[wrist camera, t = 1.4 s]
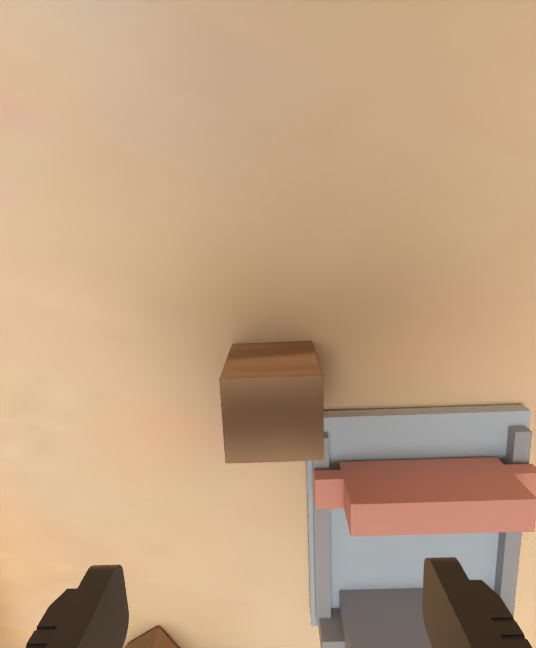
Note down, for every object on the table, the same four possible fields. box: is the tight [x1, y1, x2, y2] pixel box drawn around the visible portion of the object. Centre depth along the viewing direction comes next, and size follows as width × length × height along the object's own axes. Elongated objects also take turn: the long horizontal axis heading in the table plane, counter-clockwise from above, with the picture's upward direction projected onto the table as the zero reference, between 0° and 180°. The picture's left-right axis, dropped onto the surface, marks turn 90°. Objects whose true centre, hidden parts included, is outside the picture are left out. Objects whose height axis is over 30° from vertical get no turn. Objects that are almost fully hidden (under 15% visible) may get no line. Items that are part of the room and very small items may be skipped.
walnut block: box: [219, 341, 324, 463], centre depth 24 cm, size 4×5×6 cm
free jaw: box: [314, 457, 536, 537], centre depth 25 cm, size 2×13×4 cm, turn 92°
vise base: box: [306, 404, 532, 648], centre depth 26 cm, size 16×14×6 cm
